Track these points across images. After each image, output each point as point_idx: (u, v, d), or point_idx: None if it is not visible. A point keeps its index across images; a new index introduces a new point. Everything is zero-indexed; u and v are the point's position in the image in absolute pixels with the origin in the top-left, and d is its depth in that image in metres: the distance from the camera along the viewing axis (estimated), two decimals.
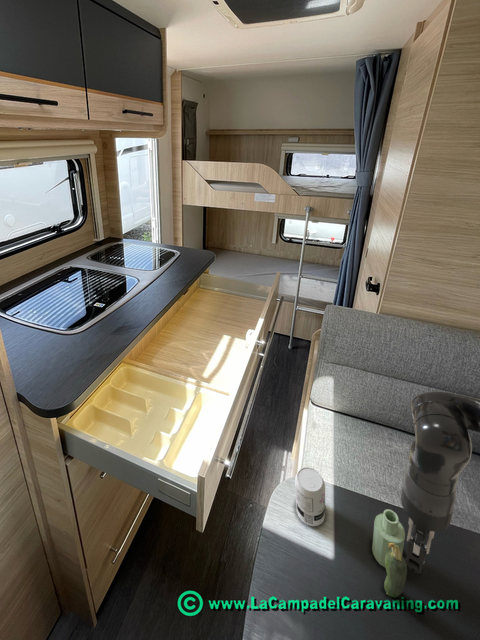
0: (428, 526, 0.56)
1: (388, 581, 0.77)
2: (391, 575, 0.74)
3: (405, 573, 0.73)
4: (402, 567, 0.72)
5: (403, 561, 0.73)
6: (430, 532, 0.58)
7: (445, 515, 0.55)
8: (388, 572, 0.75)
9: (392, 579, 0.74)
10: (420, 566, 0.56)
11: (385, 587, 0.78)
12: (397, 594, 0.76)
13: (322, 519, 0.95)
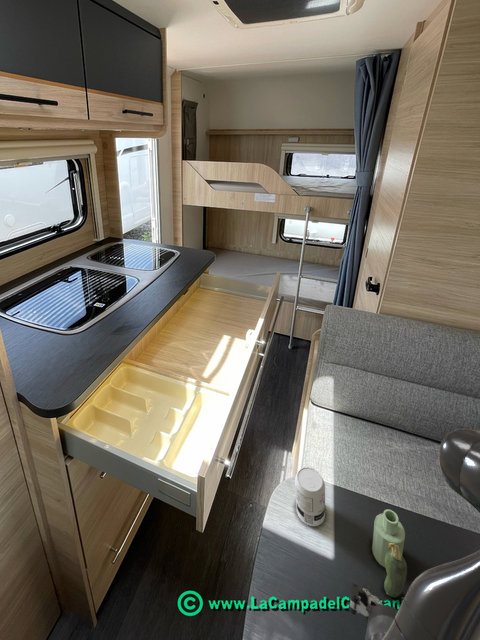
0: None
1: (388, 581, 0.77)
2: (391, 575, 0.74)
3: (405, 573, 0.73)
4: (402, 567, 0.72)
5: (403, 561, 0.73)
6: None
7: None
8: (388, 572, 0.75)
9: (392, 579, 0.74)
10: None
11: (385, 587, 0.78)
12: (397, 594, 0.76)
13: (322, 519, 0.95)
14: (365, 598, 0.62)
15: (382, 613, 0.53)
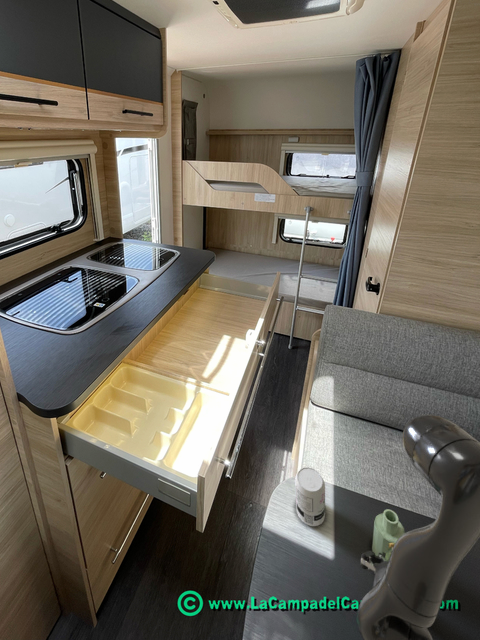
0: None
1: None
2: None
3: None
4: None
5: None
6: None
7: None
8: None
9: None
10: None
11: None
12: None
13: (322, 519, 0.95)
14: (381, 562, 0.75)
15: (386, 566, 0.67)
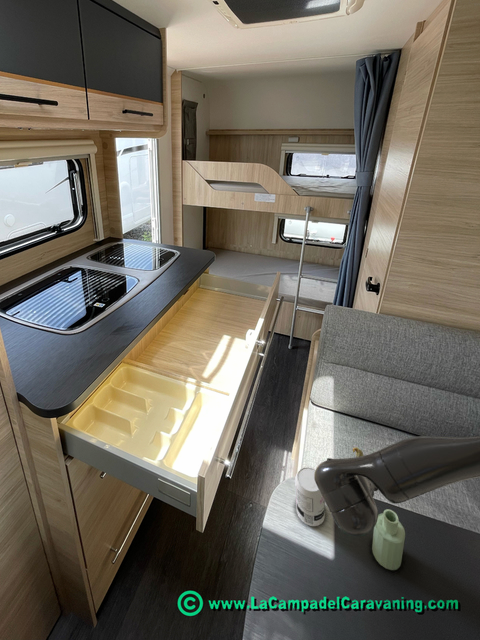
0: None
1: None
2: None
3: None
4: None
5: None
6: None
7: None
8: None
9: None
10: None
11: None
12: None
13: (322, 519, 0.95)
14: None
15: None
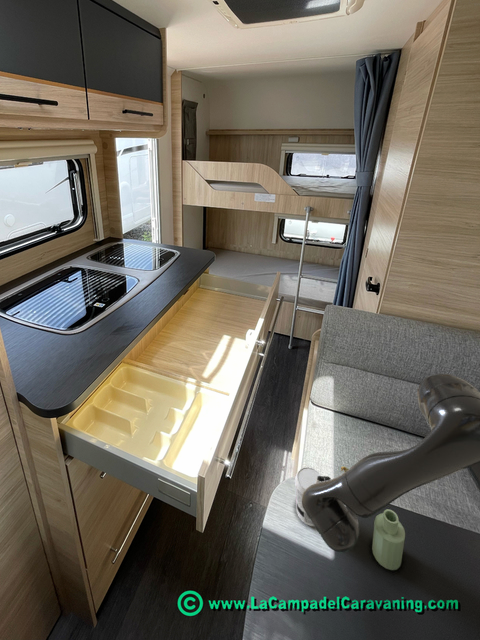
0: None
1: None
2: None
3: None
4: None
5: None
6: None
7: None
8: None
9: None
10: None
11: None
12: None
13: None
14: None
15: None
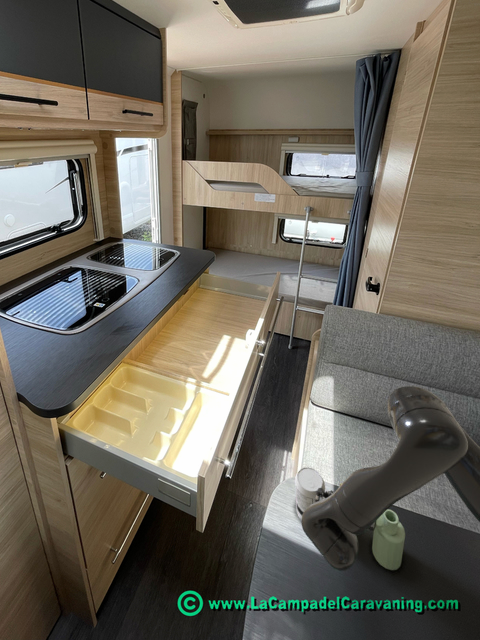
0: None
1: None
2: None
3: None
4: None
5: None
6: None
7: None
8: None
9: None
10: None
11: None
12: None
13: None
14: (327, 496, 0.88)
15: None
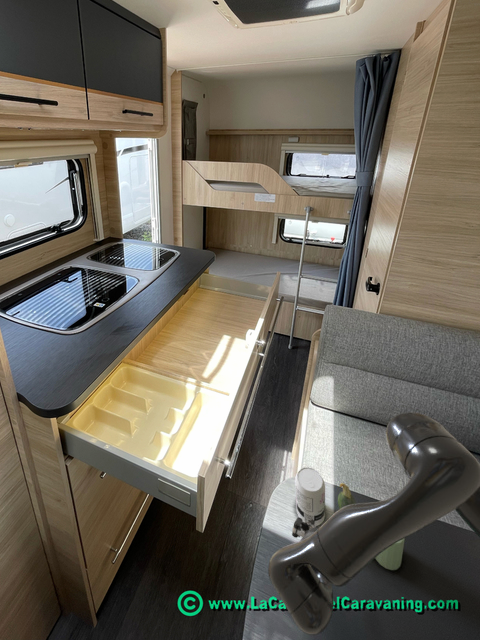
0: None
1: None
2: None
3: None
4: (350, 503, 0.86)
5: (352, 499, 0.86)
6: None
7: None
8: None
9: None
10: None
11: None
12: None
13: (322, 519, 0.95)
14: (307, 528, 0.78)
15: (312, 531, 0.69)
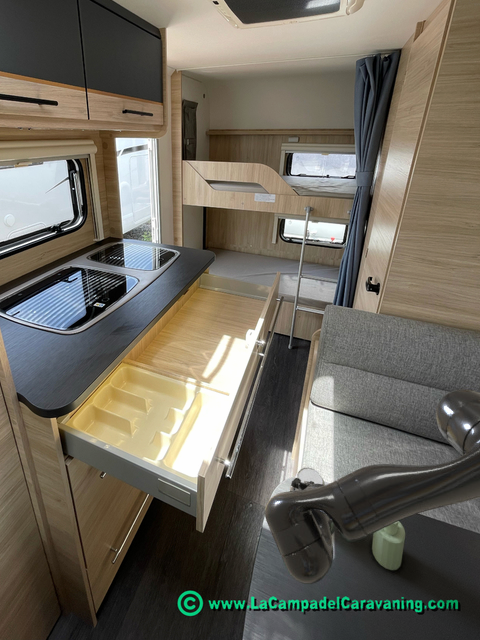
0: None
1: None
2: None
3: None
4: None
5: None
6: None
7: None
8: None
9: None
10: None
11: None
12: None
13: None
14: (305, 488, 0.73)
15: (311, 486, 0.64)
